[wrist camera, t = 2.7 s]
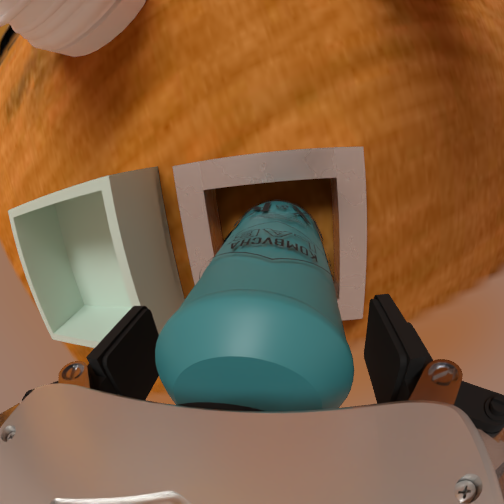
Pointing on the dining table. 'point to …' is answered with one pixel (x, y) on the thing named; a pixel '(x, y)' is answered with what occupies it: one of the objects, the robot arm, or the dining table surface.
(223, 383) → the beverage bottle
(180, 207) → the socket frame
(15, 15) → the honey pot
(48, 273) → the bin
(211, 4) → the dining table surface
